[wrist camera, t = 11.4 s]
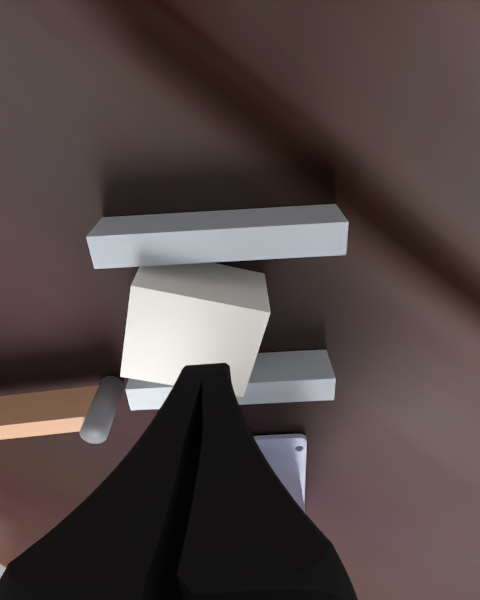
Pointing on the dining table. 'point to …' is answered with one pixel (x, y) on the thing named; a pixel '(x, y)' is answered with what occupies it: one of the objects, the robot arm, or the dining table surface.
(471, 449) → the dining table surface
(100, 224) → the dock
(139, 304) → the white block
